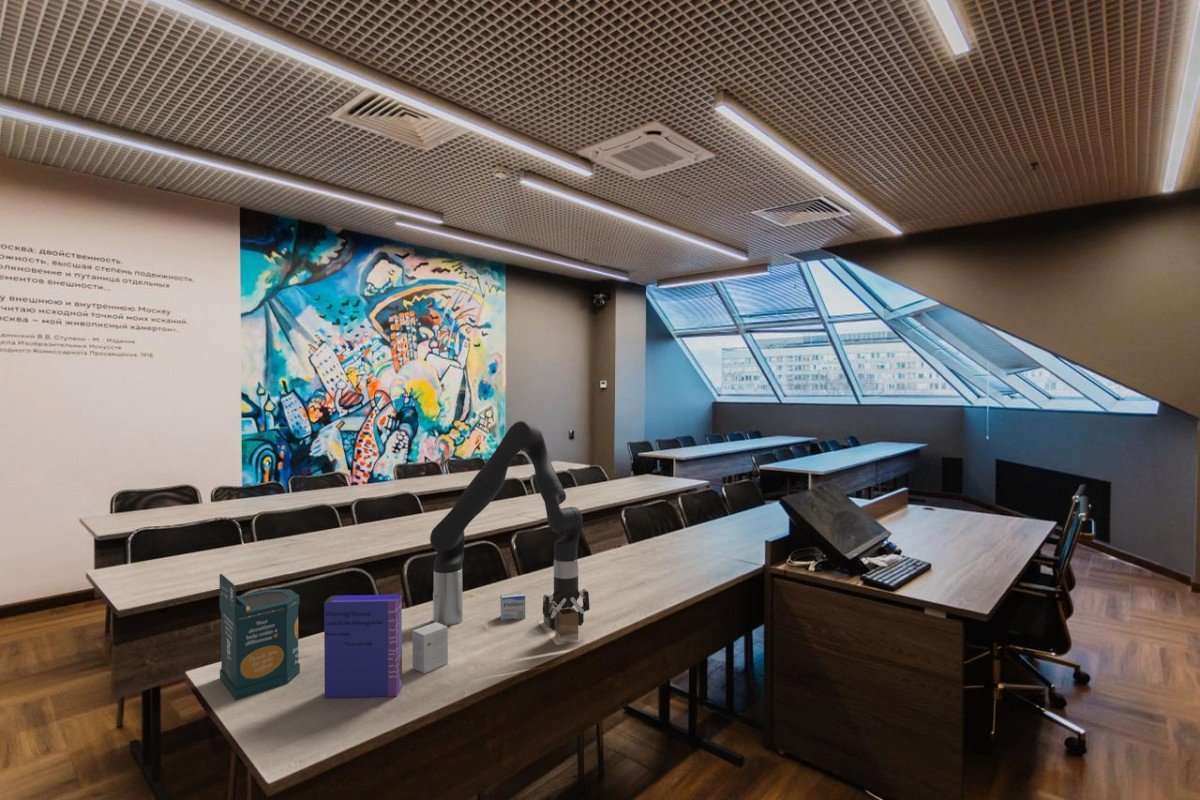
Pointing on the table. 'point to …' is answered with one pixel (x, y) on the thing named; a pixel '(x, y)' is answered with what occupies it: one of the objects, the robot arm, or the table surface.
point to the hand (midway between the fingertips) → (566, 627)
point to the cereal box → (363, 646)
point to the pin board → (553, 637)
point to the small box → (430, 647)
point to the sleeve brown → (566, 624)
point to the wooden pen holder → (546, 619)
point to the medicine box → (512, 606)
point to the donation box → (258, 639)
